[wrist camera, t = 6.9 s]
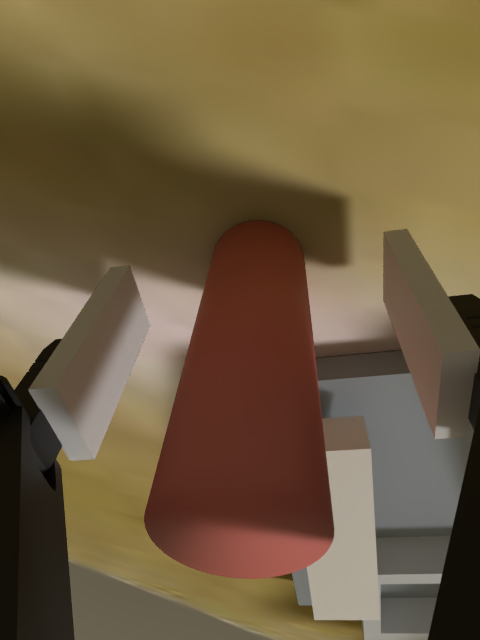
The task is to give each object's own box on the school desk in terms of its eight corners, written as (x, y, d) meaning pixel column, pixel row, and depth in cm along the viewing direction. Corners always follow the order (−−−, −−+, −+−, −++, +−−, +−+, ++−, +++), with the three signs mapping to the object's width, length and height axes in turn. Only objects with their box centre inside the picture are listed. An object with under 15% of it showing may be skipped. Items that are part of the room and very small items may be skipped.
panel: (253, 363, 20) (248, 421, 17) (703, 323, 18) (786, 383, 15) (297, 582, 31) (299, 639, 28) (580, 578, 28) (614, 642, 26)
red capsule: (203, 226, 17) (119, 476, 8) (300, 214, 16) (328, 466, 7) (222, 306, 19) (171, 579, 10) (307, 297, 18) (338, 577, 9)
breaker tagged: (283, 421, 19) (282, 453, 17) (362, 415, 18) (370, 448, 16) (306, 579, 23) (308, 620, 21) (372, 579, 22) (380, 620, 20)
